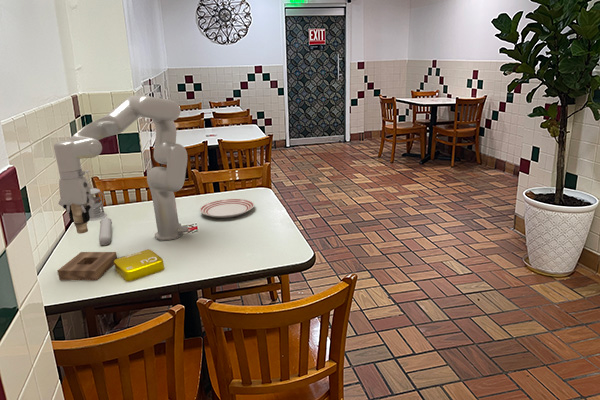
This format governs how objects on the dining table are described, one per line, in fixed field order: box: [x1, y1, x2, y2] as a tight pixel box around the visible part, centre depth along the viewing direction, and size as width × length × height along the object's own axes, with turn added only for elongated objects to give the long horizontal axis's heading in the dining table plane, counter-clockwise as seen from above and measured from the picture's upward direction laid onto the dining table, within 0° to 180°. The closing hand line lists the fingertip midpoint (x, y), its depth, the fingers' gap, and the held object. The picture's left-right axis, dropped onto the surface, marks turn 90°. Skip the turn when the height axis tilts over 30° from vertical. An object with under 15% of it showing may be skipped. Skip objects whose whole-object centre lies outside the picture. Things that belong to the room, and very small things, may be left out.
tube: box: [98, 216, 113, 246], centre depth 213 cm, size 5×5×25 cm
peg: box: [71, 204, 89, 235], centre depth 176 cm, size 4×4×12 cm
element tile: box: [113, 249, 165, 283], centre depth 179 cm, size 15×15×5 cm
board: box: [57, 251, 118, 281], centre depth 181 cm, size 15×16×4 cm
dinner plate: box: [199, 198, 255, 219], centre depth 236 cm, size 27×27×3 cm
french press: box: [84, 169, 108, 222], centre depth 236 cm, size 10×12×25 cm
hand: (80, 220), depth 176 cm, fingers closed on peg, 4 cm apart
